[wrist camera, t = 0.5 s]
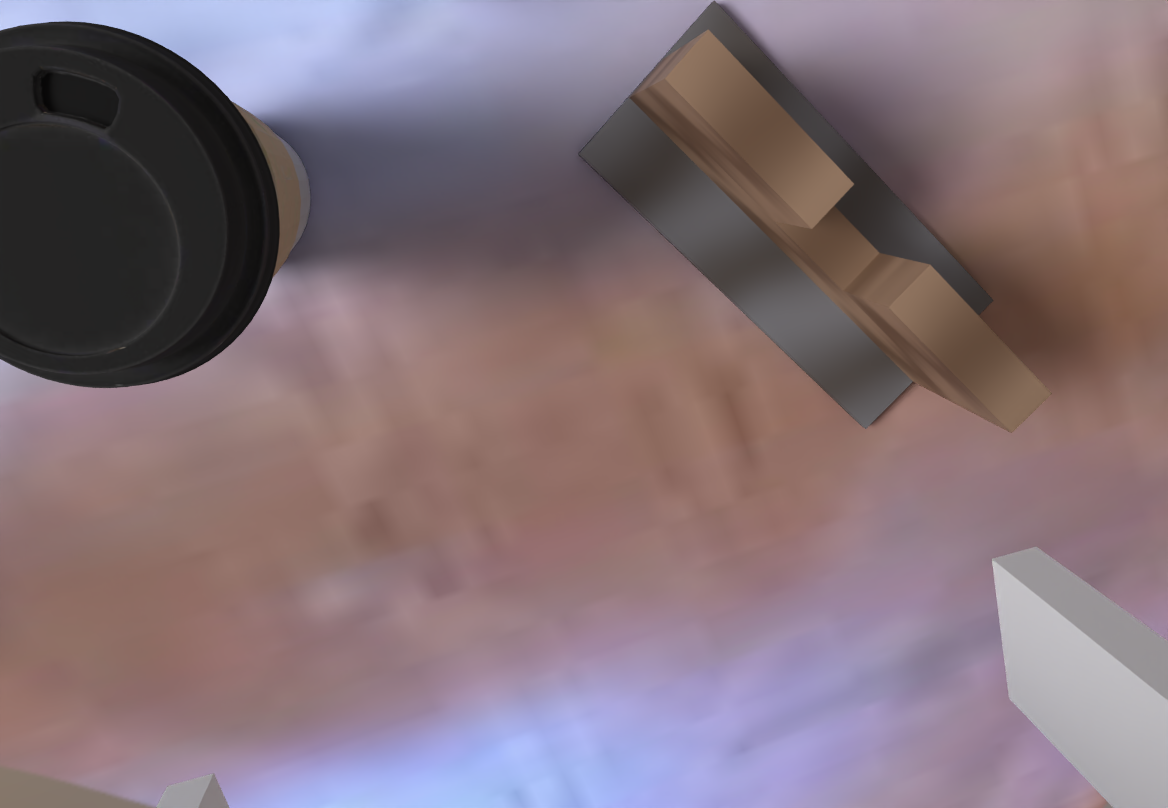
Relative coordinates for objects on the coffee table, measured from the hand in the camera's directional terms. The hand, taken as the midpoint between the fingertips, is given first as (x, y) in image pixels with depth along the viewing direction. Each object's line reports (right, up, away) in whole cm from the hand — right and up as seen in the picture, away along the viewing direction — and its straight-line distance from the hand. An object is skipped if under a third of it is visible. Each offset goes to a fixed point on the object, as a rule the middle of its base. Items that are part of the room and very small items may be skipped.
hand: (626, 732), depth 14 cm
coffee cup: (-15, +14, +21) cm, 30 cm away
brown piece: (+8, +13, +24) cm, 28 cm away
